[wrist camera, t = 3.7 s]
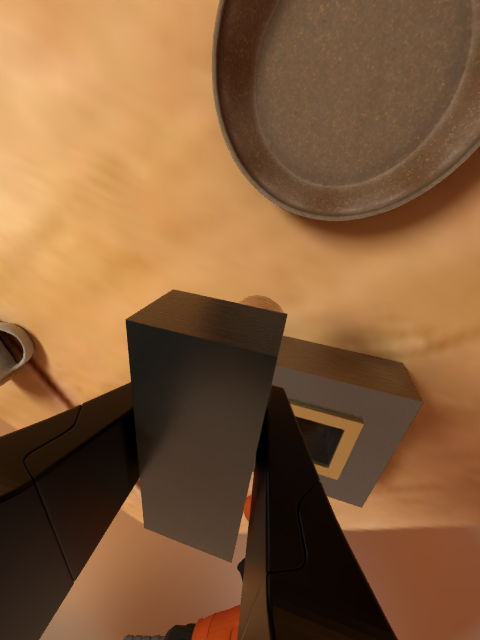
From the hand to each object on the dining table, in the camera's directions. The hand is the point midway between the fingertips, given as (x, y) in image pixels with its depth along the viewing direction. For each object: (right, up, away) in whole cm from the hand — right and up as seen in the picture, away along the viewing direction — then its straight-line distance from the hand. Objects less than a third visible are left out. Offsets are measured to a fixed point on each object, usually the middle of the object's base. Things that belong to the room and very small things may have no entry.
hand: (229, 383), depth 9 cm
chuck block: (+6, -9, +17) cm, 20 cm away
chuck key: (+1, +2, +5) cm, 5 cm away
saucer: (+7, +16, +6) cm, 18 cm away
